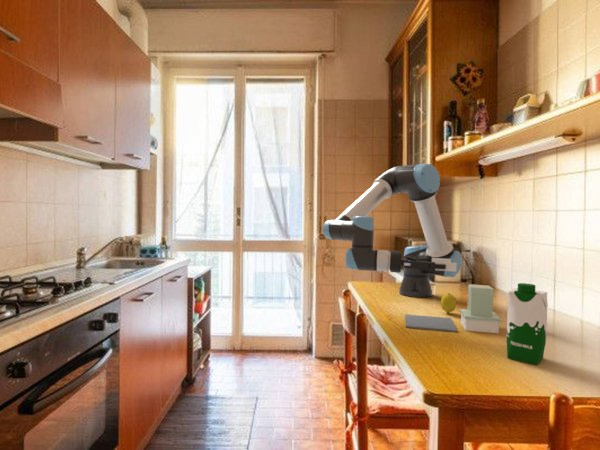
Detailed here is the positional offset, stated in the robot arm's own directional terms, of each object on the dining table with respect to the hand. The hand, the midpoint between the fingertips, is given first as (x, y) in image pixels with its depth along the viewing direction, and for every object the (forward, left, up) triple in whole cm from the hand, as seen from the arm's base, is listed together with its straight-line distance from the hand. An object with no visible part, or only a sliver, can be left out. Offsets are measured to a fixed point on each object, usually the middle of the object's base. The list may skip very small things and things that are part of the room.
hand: (453, 264), depth 135 cm
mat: (+5, -5, -21) cm, 22 cm away
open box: (-6, +6, -21) cm, 23 cm away
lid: (-6, +6, -17) cm, 19 cm away
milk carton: (+9, +30, -21) cm, 38 cm away
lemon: (-13, -12, -21) cm, 28 cm away
